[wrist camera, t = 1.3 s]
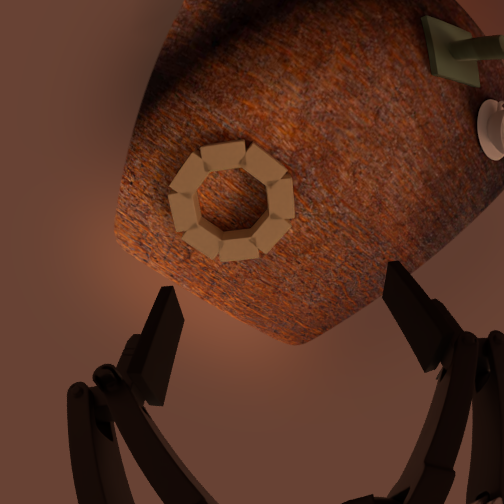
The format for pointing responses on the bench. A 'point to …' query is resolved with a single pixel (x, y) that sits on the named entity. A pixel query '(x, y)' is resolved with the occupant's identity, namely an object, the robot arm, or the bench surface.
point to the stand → (458, 51)
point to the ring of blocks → (235, 241)
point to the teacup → (491, 128)
